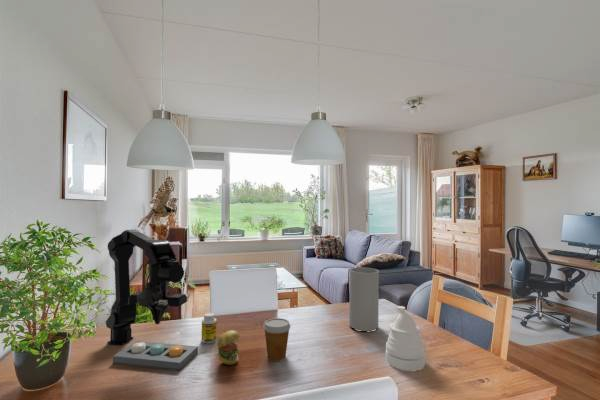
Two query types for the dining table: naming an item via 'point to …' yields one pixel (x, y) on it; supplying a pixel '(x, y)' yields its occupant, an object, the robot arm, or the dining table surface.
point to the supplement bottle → (209, 328)
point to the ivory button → (138, 347)
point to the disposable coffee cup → (276, 338)
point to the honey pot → (405, 343)
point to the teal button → (157, 349)
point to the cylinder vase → (364, 298)
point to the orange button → (175, 351)
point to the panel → (156, 357)
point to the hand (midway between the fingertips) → (157, 323)
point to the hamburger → (228, 347)
